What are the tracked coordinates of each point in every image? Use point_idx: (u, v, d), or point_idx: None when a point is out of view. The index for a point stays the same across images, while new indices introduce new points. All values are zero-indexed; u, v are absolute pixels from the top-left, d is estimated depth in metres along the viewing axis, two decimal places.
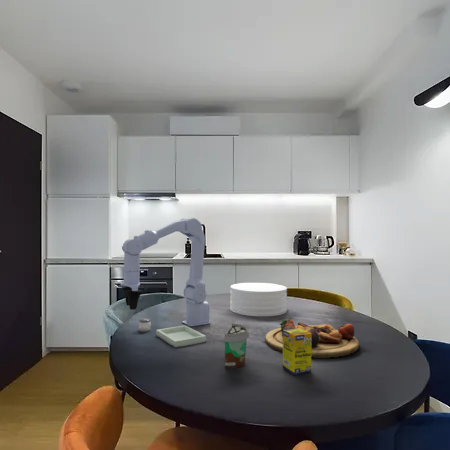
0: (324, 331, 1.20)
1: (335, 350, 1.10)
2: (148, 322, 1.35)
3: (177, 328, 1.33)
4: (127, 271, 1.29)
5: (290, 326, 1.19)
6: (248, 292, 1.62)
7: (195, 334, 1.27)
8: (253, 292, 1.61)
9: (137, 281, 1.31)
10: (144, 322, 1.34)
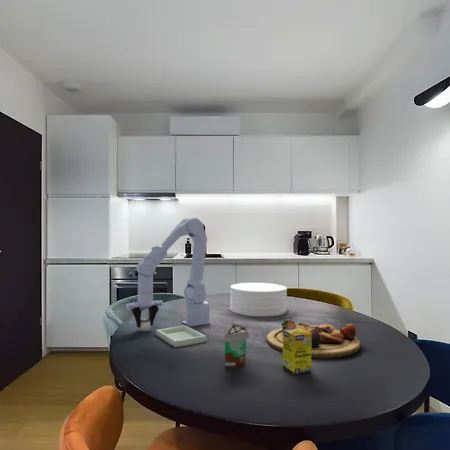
0: (325, 331, 1.20)
1: (337, 350, 1.10)
2: (148, 322, 1.35)
3: (177, 328, 1.33)
4: None
5: (291, 326, 1.19)
6: (248, 292, 1.62)
7: (195, 334, 1.27)
8: (253, 292, 1.61)
9: (141, 302, 1.34)
10: (144, 322, 1.34)
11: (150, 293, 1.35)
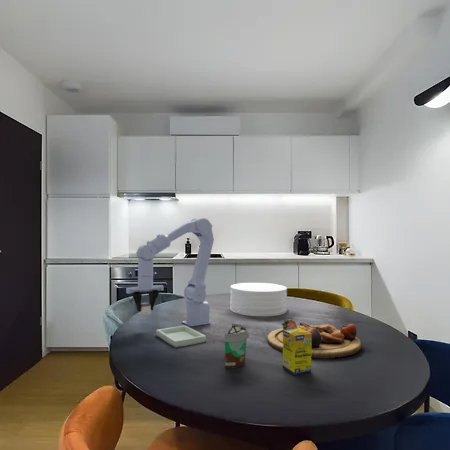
0: (326, 331, 1.20)
1: (337, 350, 1.09)
2: (148, 306, 1.35)
3: (177, 328, 1.33)
4: None
5: (292, 326, 1.19)
6: (248, 292, 1.62)
7: (195, 334, 1.27)
8: (253, 292, 1.61)
9: (141, 286, 1.34)
10: (144, 306, 1.35)
11: (150, 277, 1.35)
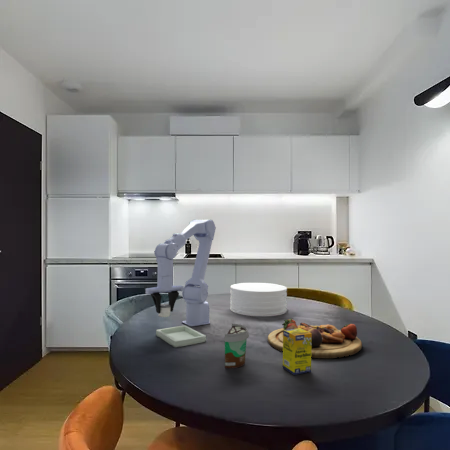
0: (327, 331, 1.20)
1: (338, 350, 1.09)
2: (168, 307, 1.30)
3: (177, 328, 1.33)
4: None
5: (293, 326, 1.19)
6: (248, 292, 1.62)
7: (195, 334, 1.27)
8: (253, 292, 1.61)
9: (161, 286, 1.28)
10: (164, 307, 1.29)
11: (170, 277, 1.29)
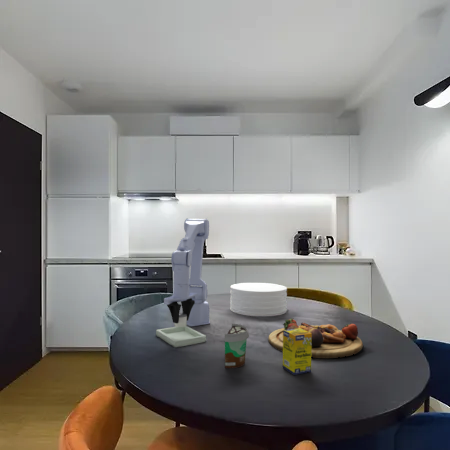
0: (328, 331, 1.20)
1: (339, 350, 1.09)
2: (186, 316, 1.26)
3: (177, 328, 1.33)
4: (173, 283, 1.26)
5: (294, 326, 1.19)
6: (248, 292, 1.62)
7: (195, 334, 1.27)
8: (253, 292, 1.61)
9: (180, 295, 1.24)
10: (182, 317, 1.25)
11: (188, 285, 1.26)
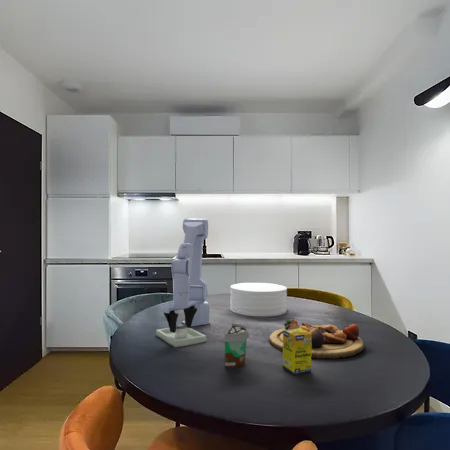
0: (328, 331, 1.20)
1: (340, 350, 1.09)
2: (186, 328, 1.26)
3: None
4: (173, 291, 1.26)
5: (294, 326, 1.18)
6: (248, 292, 1.62)
7: (195, 334, 1.27)
8: (253, 292, 1.61)
9: (179, 303, 1.24)
10: (183, 328, 1.25)
11: (188, 294, 1.26)
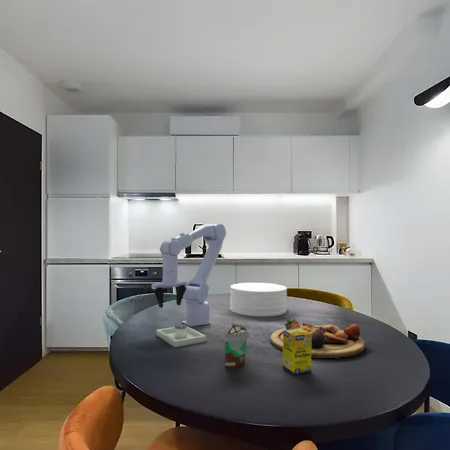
0: (330, 331, 1.20)
1: (341, 351, 1.09)
2: (186, 328, 1.26)
3: None
4: None
5: (295, 326, 1.18)
6: (248, 292, 1.62)
7: (195, 334, 1.27)
8: (253, 292, 1.61)
9: (166, 281, 1.34)
10: (183, 328, 1.25)
11: (175, 273, 1.35)
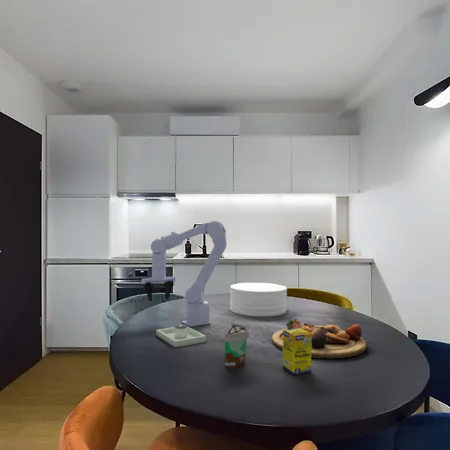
0: (331, 332, 1.20)
1: (343, 351, 1.09)
2: (186, 328, 1.26)
3: None
4: None
5: (297, 327, 1.18)
6: (248, 292, 1.62)
7: (195, 334, 1.27)
8: (253, 292, 1.61)
9: (155, 277, 1.46)
10: (183, 328, 1.25)
11: (163, 269, 1.47)
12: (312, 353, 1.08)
